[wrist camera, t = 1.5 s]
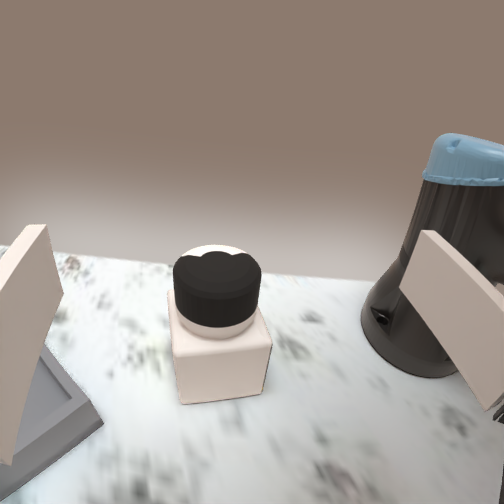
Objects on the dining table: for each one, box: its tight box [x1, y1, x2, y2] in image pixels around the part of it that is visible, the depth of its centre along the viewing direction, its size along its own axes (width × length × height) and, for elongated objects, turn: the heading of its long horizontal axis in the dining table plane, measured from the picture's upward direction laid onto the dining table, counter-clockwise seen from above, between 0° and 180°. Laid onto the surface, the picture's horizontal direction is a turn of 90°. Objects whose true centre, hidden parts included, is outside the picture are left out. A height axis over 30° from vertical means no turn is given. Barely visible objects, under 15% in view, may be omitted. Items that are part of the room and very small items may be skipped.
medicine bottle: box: [167, 245, 273, 404], centre depth 24 cm, size 7×7×12 cm
